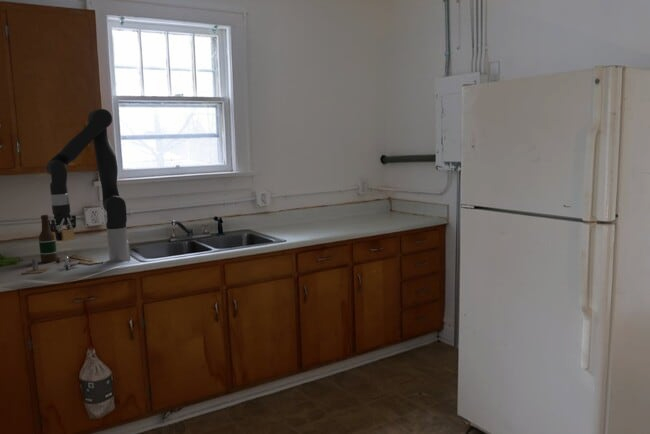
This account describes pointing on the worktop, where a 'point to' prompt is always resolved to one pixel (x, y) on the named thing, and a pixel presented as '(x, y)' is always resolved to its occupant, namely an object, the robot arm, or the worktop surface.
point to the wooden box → (35, 268)
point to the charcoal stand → (67, 265)
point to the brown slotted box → (66, 234)
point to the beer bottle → (47, 242)
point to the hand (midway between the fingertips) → (64, 239)
